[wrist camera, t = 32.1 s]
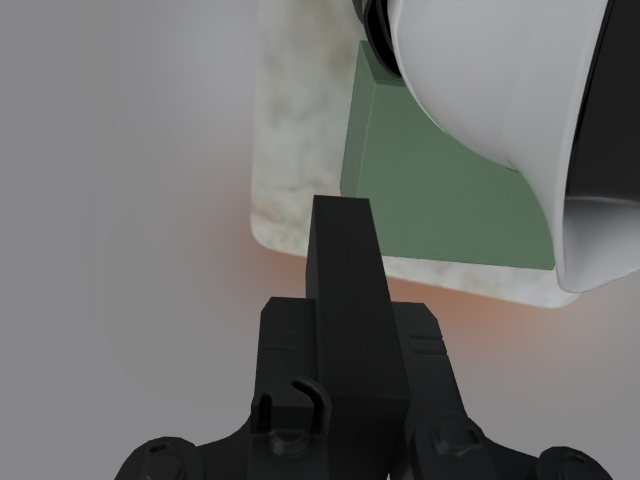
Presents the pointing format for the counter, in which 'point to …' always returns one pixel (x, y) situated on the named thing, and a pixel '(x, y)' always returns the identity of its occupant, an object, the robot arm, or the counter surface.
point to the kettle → (535, 108)
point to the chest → (360, 115)
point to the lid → (444, 193)
